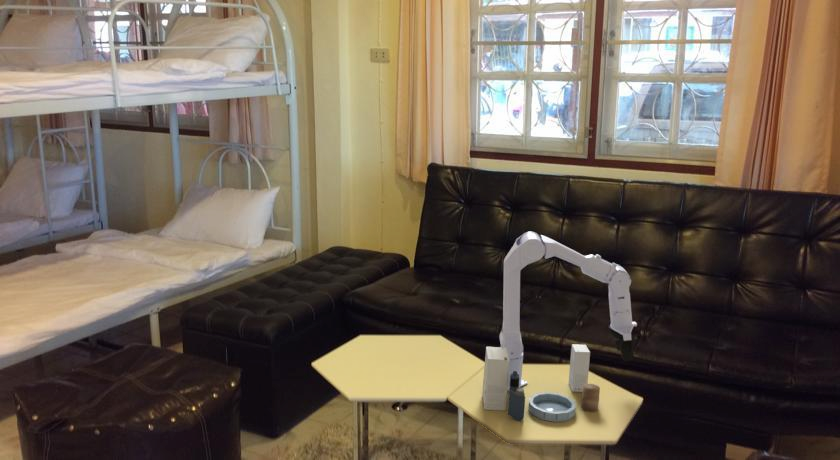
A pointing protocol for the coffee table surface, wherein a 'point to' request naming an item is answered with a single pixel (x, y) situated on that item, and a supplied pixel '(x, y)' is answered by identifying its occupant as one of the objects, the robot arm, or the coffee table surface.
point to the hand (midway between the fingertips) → (624, 355)
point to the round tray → (552, 407)
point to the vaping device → (516, 398)
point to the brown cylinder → (590, 397)
